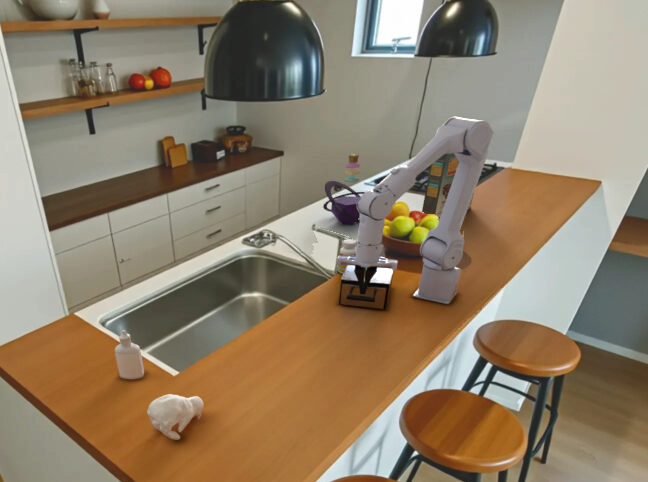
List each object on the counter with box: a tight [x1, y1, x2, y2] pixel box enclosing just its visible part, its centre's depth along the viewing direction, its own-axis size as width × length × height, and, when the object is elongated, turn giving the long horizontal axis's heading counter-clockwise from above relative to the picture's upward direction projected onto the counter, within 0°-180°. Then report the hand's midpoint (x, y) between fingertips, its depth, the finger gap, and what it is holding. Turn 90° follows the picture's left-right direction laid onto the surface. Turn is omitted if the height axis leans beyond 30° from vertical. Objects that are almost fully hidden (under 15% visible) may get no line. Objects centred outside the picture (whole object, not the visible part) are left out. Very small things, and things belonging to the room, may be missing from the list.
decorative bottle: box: [322, 153, 366, 226], centre depth 181 cm, size 22×21×25 cm
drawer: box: [340, 282, 387, 310], centre depth 130 cm, size 17×11×6 cm, turn 157°
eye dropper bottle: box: [114, 329, 145, 380], centre depth 107 cm, size 4×6×12 cm
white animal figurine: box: [146, 393, 205, 441], centre depth 92 cm, size 6×8×12 cm
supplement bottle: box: [337, 238, 357, 275], centre depth 147 cm, size 5×5×10 cm
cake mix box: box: [421, 153, 475, 217], centre depth 182 cm, size 22×6×30 cm, turn 121°
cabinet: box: [338, 265, 395, 311], centre depth 133 cm, size 13×12×8 cm
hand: (362, 292), depth 125 cm, fingers closed, pressing on drawer
